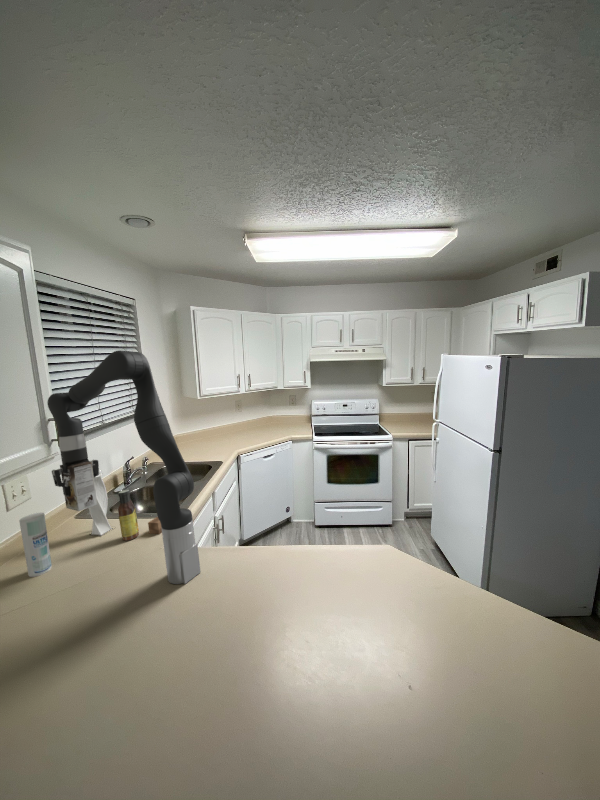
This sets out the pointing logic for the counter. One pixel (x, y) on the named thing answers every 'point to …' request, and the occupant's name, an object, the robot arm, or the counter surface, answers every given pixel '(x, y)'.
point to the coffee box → (80, 486)
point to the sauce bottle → (127, 516)
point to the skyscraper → (100, 508)
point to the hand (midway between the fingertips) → (80, 492)
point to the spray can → (35, 544)
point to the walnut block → (155, 526)
